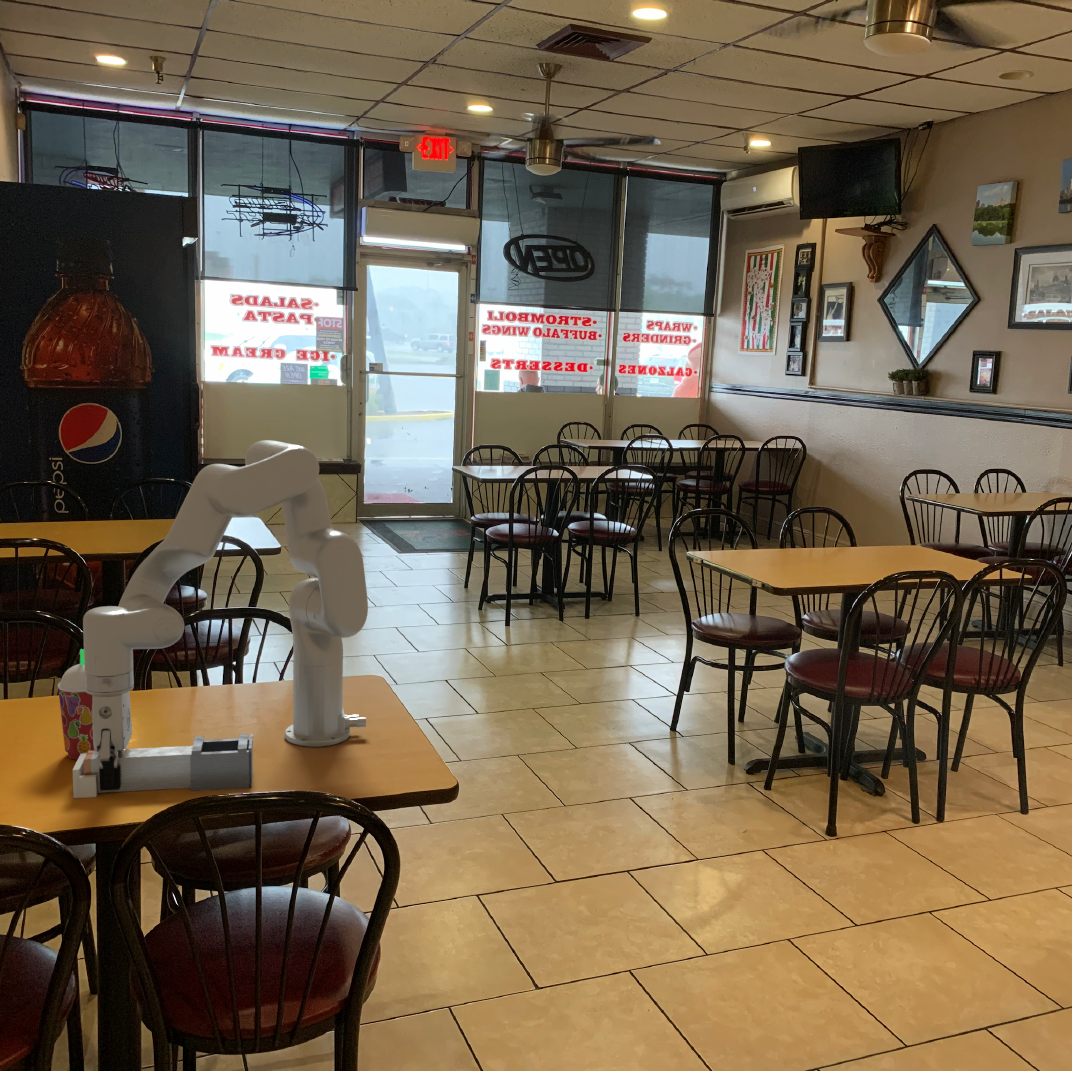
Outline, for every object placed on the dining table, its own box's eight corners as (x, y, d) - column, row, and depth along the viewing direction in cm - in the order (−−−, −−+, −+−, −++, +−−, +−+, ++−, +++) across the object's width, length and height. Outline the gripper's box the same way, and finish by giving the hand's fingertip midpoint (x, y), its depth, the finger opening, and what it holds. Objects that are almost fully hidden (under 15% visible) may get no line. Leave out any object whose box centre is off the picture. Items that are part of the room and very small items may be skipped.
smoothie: (116, 746, 192) (114, 644, 189) (99, 763, 184) (96, 656, 181) (71, 745, 192) (68, 642, 189) (52, 762, 184) (48, 655, 180)
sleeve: (252, 772, 183) (252, 733, 182) (251, 787, 177) (251, 747, 175) (194, 775, 181) (193, 736, 180) (190, 791, 174) (190, 750, 173)
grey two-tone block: (196, 778, 179) (196, 745, 178) (194, 787, 176) (194, 754, 175) (89, 783, 175) (88, 750, 174) (85, 793, 171) (84, 759, 170)
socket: (103, 779, 177) (102, 752, 176) (96, 796, 170) (95, 768, 170) (81, 780, 176) (80, 753, 176) (73, 798, 170) (72, 769, 169)
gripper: (126, 695, 164) (129, 802, 167) (139, 665, 180) (142, 763, 183) (75, 697, 162) (79, 805, 165) (94, 666, 178) (97, 765, 181)
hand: (112, 782), depth 174 cm, fingers closed on grey two-tone block, 4 cm apart
